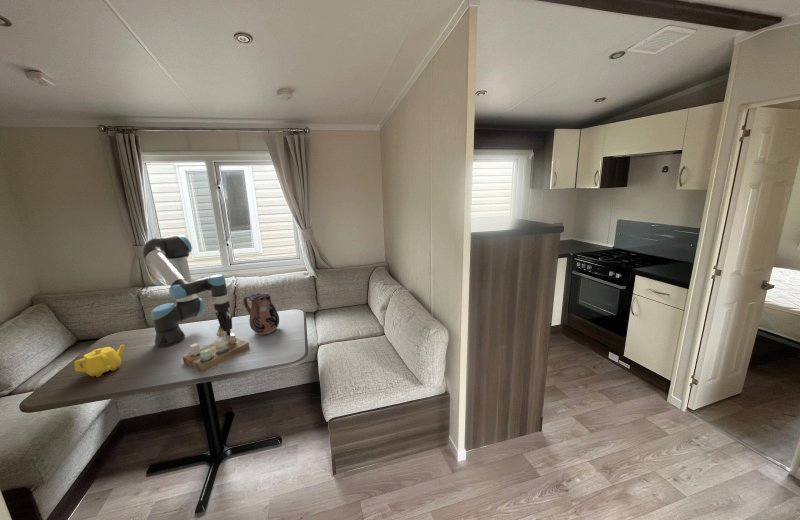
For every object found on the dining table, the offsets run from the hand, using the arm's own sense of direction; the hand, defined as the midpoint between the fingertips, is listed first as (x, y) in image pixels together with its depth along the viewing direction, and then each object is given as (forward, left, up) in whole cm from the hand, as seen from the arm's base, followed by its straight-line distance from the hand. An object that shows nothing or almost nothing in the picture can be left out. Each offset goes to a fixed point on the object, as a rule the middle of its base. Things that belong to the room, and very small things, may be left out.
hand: (228, 339), depth 173 cm
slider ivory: (-4, -16, -1) cm, 17 cm away
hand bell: (-24, +10, -6) cm, 27 cm away
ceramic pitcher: (-1, +23, -6) cm, 23 cm away
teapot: (-41, -44, -6) cm, 60 cm away
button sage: (+7, -16, -1) cm, 18 cm away
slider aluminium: (+3, 0, -1) cm, 4 cm away
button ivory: (+7, -8, +1) cm, 11 cm away
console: (+1, -8, -5) cm, 10 cm away
